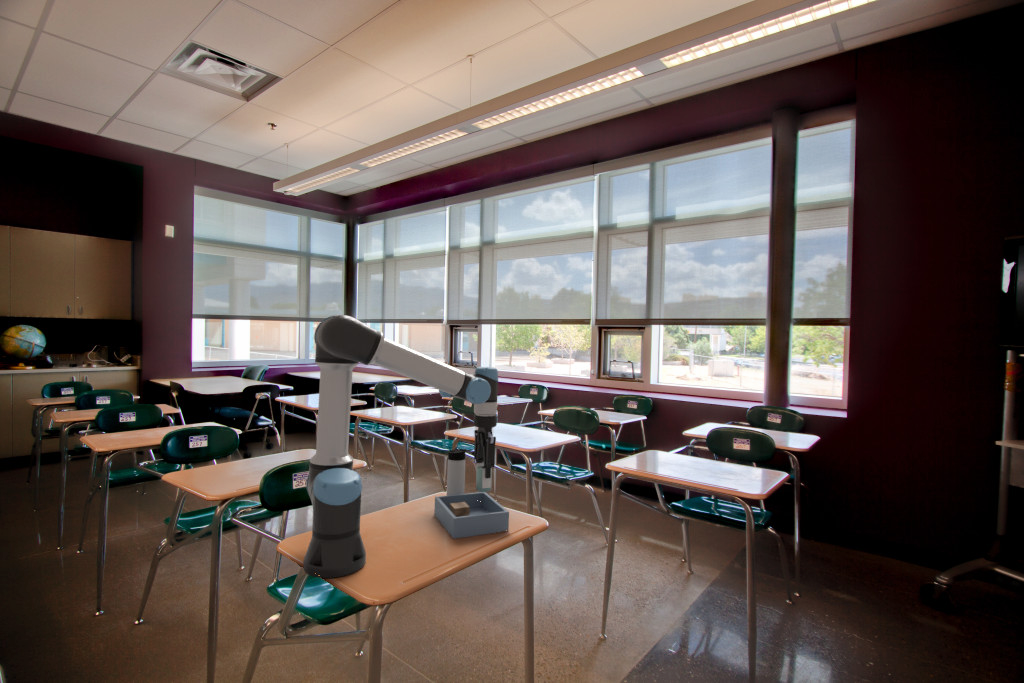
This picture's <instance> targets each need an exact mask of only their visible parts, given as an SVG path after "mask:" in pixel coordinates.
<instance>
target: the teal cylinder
mask: <svg viewBox="0 0 1024 683" xmlns="http://www.w3.org/2000/svg"><path fill="white" fill-rule="evenodd" d="M482 467H484V466H481V467H477V466H476V468H477V473H476V472H475V473H476V474H475V475H476V476H475V477H476V478H475V483H476V486H475V488H476V491H477V492H486V493H487V492H491V491H492V484H493V483H492V482H493V480H492V477H493V474H492V473H493V467H492V468H491V488H482V473H483V469H482Z"/></svg>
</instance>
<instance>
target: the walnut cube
mask: <svg viewBox="0 0 1024 683" xmlns="http://www.w3.org/2000/svg"><path fill="white" fill-rule="evenodd" d="M450 511H451V512H452V513H453V514H454V515H455V516H456V517H461V516H469V513H470V507H469V506H468V505H467V504H466V503H465V502H459V503H450Z"/></svg>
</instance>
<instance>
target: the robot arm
mask: <svg viewBox="0 0 1024 683" xmlns="http://www.w3.org/2000/svg"><path fill="white" fill-rule="evenodd" d="M313 340H314V343H315V357H314V358H315V359H314V363H315V364H316V365H317V367H319V369H320V372H319V374H320V375H319V390H318V393H319V394H318V407H317V408H318V411H317V427H316V445H315V446H316V447H315V454H314V455H313V456H312V457H311V458H309V467H308V468H309V469H308V475H307V478H306V491H307V494H308V496H309V499H310V501H311V505H312V524H311V525H312V526H311V528H312V531H311V539H310V542H309V545H308V547H307V550H306V552H305V556H304V557H303V571H304V573H306V575H309V576H312V577H315V578H319V579H333V578H340V577H345V576H348V575H352V574H353V573H357V572H358V571H360V570H361V569H362V568H363V567H365V565H366V563H367V562H366V560H367V558H366V557H367V553H366V548H365V546H364V541H363V539H362V538H363V537H362V535H361V510H362V509H361V507H362V506H361V505H362V503H361V502H362V490H363V485H362V484H363V483H362V477H361V475H360V474H359V473H358V472H357V471H356V470H354V469H353V468H354V457H353V456H352V455H351V454H350V453H349V443H350V441H349V440H350V422H351V403H352V386H353V370H354V369H355V368H356V367H357V366H358V365H359V363H360V364H363V365H365V366H370V365H372V364H373V365H375V366H378V367H380V368H383V369H386V370H387V371H390V372H393V373H396V374H399V375H401V376H403V377H406V378H409V379H411V380H413V381H416V382H419V383H421V384H424V385H426V386H428V387H432V388H434V389H435V390H436V389H437V390H438V393H439V395H440V396H441V397H442V398H450V399H451V398H457V399H460V400H463V401H466V402H469V403H471V404H473V413H474V415H473V426H474V427H477V429H474V431H473V432H474V433H473V434H474V448H473V450H474V452H473V459H474V460H475V463H476V467H475V468H476V472H475V473H477V467H481V466H484V467H482V469H483V473H482V488H491V468H492V469H493V468H495V466H496V465H495V463H496V461H495V459H496V441H497V437H496V436H493V435H494V434H493V428H495V427H497V425H498V424H497V421H498V420H497V419H498V417H497V415H496V414H497V413H498V412H497V411H498V406H499V404H498V390H499V389H498V387H499V371H498V369H497V368H496V367H494V366H477V367H475V369H474V370H475V371H474V372H473V373H468V372H465V371H463V370H461V369H459V368H457V367H454V366H452V365H449V364H447V363H444V362H442V361H440V360H438V359H435V358H433V357H431V356H428V355H425V354H424V353H422V352H419V351H417V350H414V349H412V348H410V347H407V346H406V345H403V344H401V343H398V342H396V341H393V340H390V339H389V338H387V337H385V336H384V333H383V332H382V331H380V330H378V329H375V328H373V327H372V326H369V325H367V324H365V323H363V322H362V321H360V320H359V319H357V318H355V317H353V316H351V315H346V314H345V315H344V314H341V315H340V314H339V315H330V316H328V317H326V318H324V319H323V320H322V321H320V322H319V323H318V325H317V327H316V328H315V330H314V339H313ZM315 573H316V574H315ZM318 575H320V576H318ZM322 577H323V578H322Z"/></svg>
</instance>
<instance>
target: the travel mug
mask: <svg viewBox="0 0 1024 683" xmlns="http://www.w3.org/2000/svg"><path fill="white" fill-rule="evenodd" d="M467 452H468V450H467V448H455V449H451V450H449V451H448V452H447V473H446V475H447V477H446V496H447V495H457V494H465V484H466V483H465V482H466V480H465V479H466V453H467Z"/></svg>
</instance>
